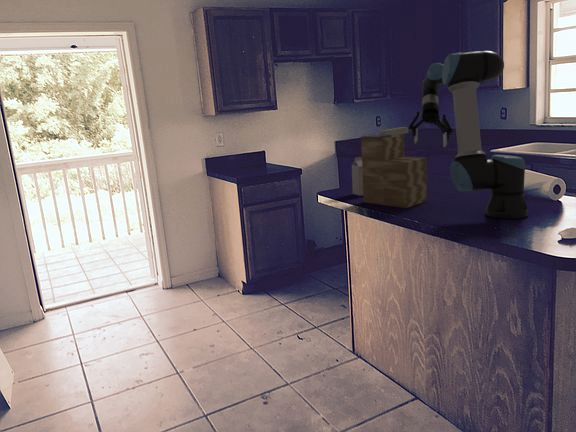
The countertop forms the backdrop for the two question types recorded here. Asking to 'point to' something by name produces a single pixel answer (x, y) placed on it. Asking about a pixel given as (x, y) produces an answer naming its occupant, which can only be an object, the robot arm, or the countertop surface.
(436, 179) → the countertop surface
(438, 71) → the robot arm
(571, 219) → the countertop surface
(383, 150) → the oak step block
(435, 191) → the countertop surface
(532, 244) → the countertop surface
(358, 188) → the milk carton
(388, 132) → the turner
